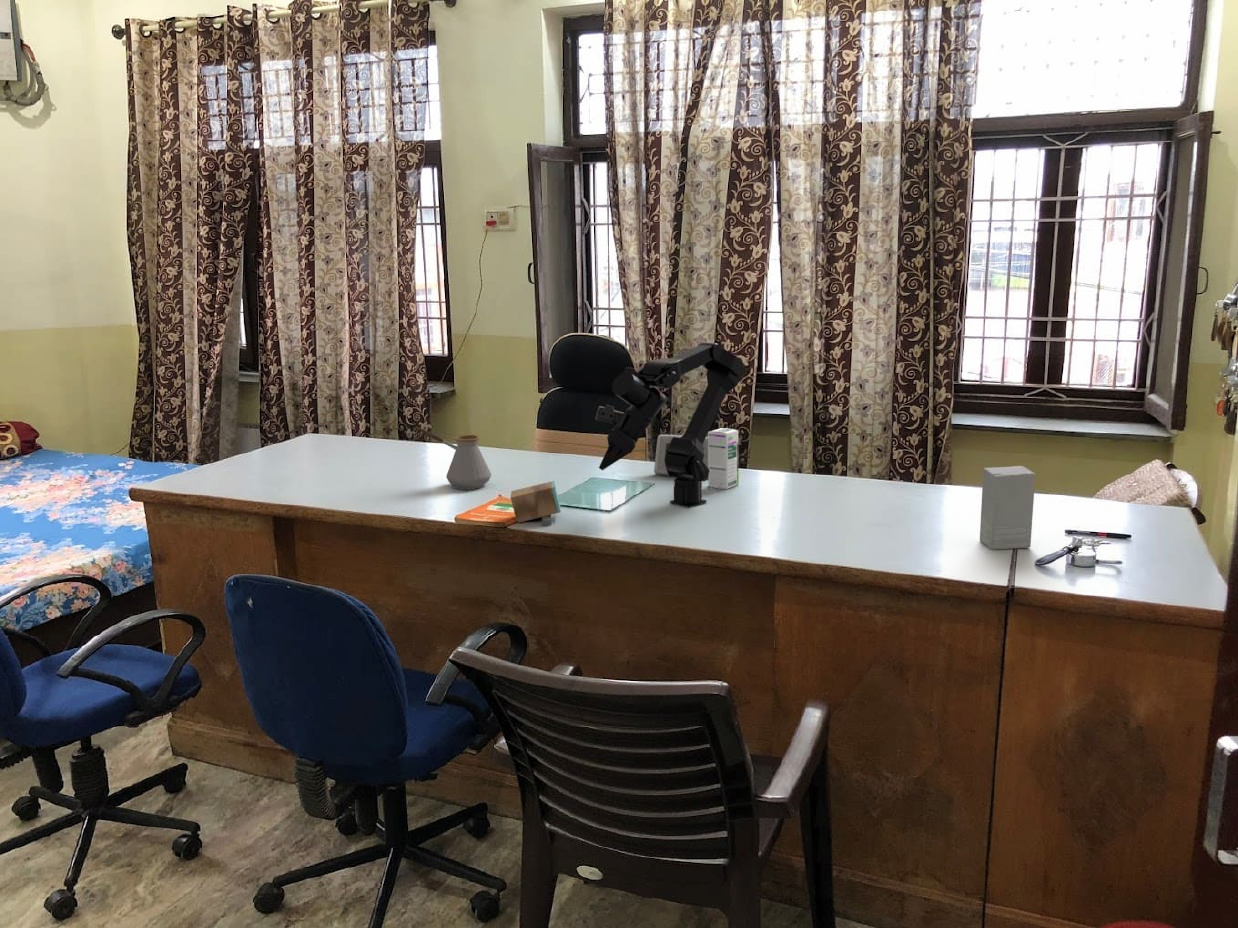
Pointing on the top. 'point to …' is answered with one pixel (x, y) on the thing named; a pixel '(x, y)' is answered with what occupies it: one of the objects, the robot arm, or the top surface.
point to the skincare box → (1007, 507)
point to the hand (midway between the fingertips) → (600, 468)
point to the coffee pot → (465, 462)
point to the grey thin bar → (546, 520)
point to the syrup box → (723, 458)
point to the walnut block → (535, 501)
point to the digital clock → (661, 449)
